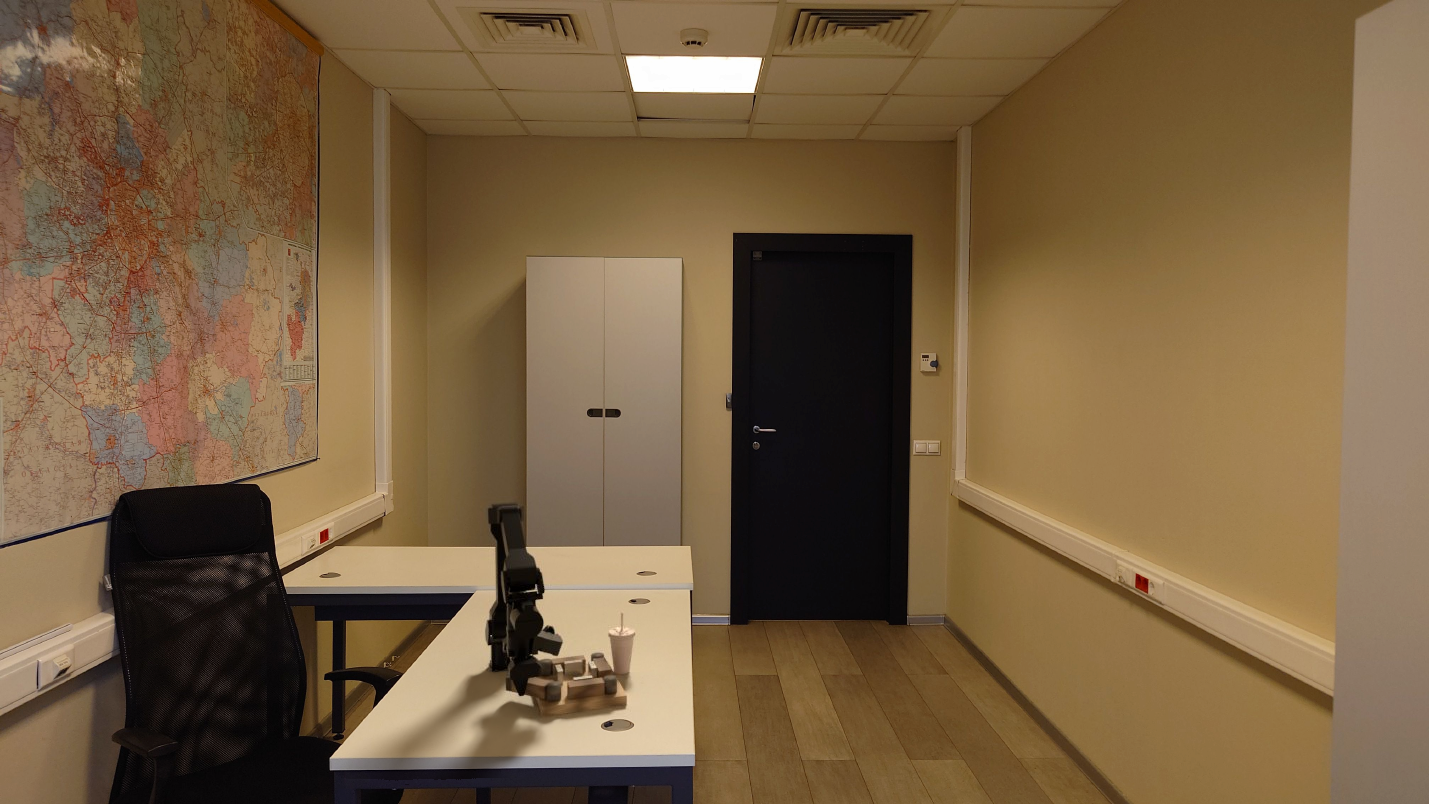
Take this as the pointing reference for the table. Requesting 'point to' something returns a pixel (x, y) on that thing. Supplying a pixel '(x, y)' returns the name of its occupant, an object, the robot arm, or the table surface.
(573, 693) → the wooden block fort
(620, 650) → the smoothie
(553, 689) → the leg
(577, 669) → the brackets
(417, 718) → the table surface
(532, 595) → the robot arm
